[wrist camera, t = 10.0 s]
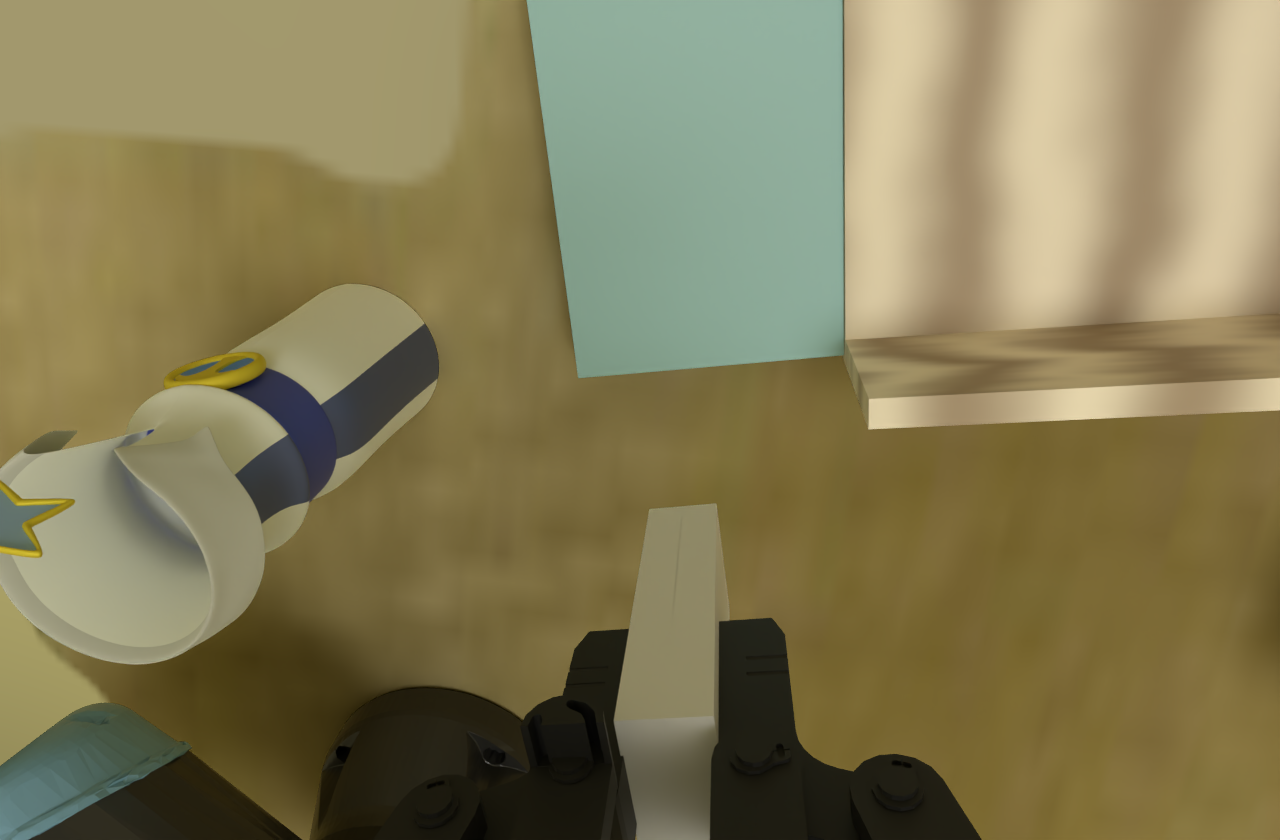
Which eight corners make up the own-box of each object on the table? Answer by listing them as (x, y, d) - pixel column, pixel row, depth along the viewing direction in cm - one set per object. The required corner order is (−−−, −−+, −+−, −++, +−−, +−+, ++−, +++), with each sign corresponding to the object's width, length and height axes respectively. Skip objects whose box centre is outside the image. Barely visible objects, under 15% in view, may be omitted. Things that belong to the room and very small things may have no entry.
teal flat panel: (835, 341, 39) (582, 363, 39) (831, -141, 31) (519, -104, 32) (843, 355, 37) (578, 378, 37) (842, -155, 29) (510, -114, 30)
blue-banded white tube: (260, 285, 41) (-326, 556, 19) (421, 267, 40) (4, 534, 17) (306, 434, 44) (-146, 822, 22) (457, 421, 43) (144, 821, 20)
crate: (837, 344, 39) (903, 526, 24) (834, -150, 32) (928, -356, 16) (1346, 313, 36) (1801, 499, 21) (1479, -242, 29) (2357, -602, 13)
